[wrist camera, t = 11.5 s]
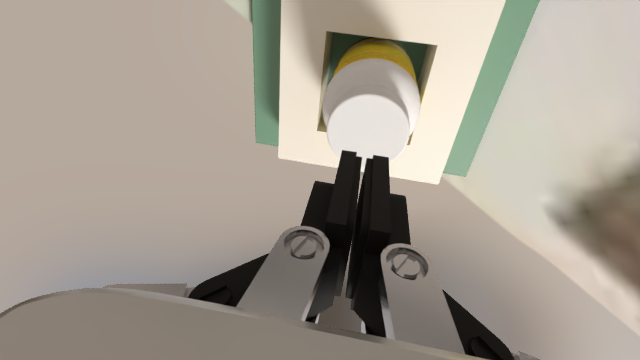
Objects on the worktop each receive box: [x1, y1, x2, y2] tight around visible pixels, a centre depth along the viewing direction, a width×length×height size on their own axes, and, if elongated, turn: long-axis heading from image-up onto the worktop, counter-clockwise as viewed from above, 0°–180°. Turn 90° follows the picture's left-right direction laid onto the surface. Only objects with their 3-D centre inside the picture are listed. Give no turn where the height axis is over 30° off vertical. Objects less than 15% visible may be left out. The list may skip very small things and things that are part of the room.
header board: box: [252, 0, 540, 184], centre depth 22 cm, size 18×14×4 cm
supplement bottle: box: [322, 37, 421, 168], centre depth 19 cm, size 5×5×10 cm
